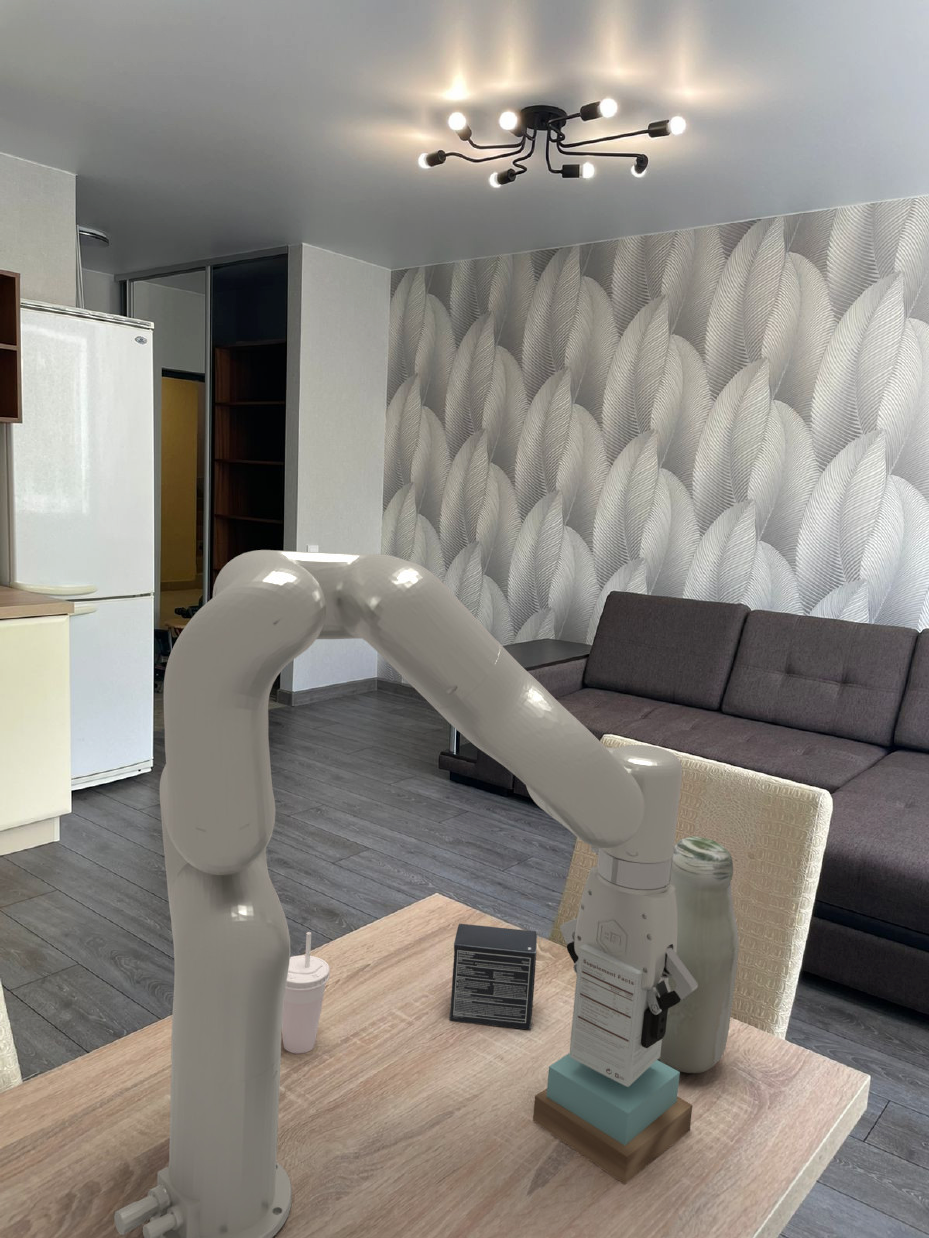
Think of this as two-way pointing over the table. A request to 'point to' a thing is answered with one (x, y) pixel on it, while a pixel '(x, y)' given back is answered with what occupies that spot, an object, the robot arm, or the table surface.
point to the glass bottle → (702, 955)
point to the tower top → (613, 1096)
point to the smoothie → (303, 1000)
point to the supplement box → (610, 1017)
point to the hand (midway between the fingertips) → (618, 1023)
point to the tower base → (606, 1149)
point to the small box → (493, 976)
